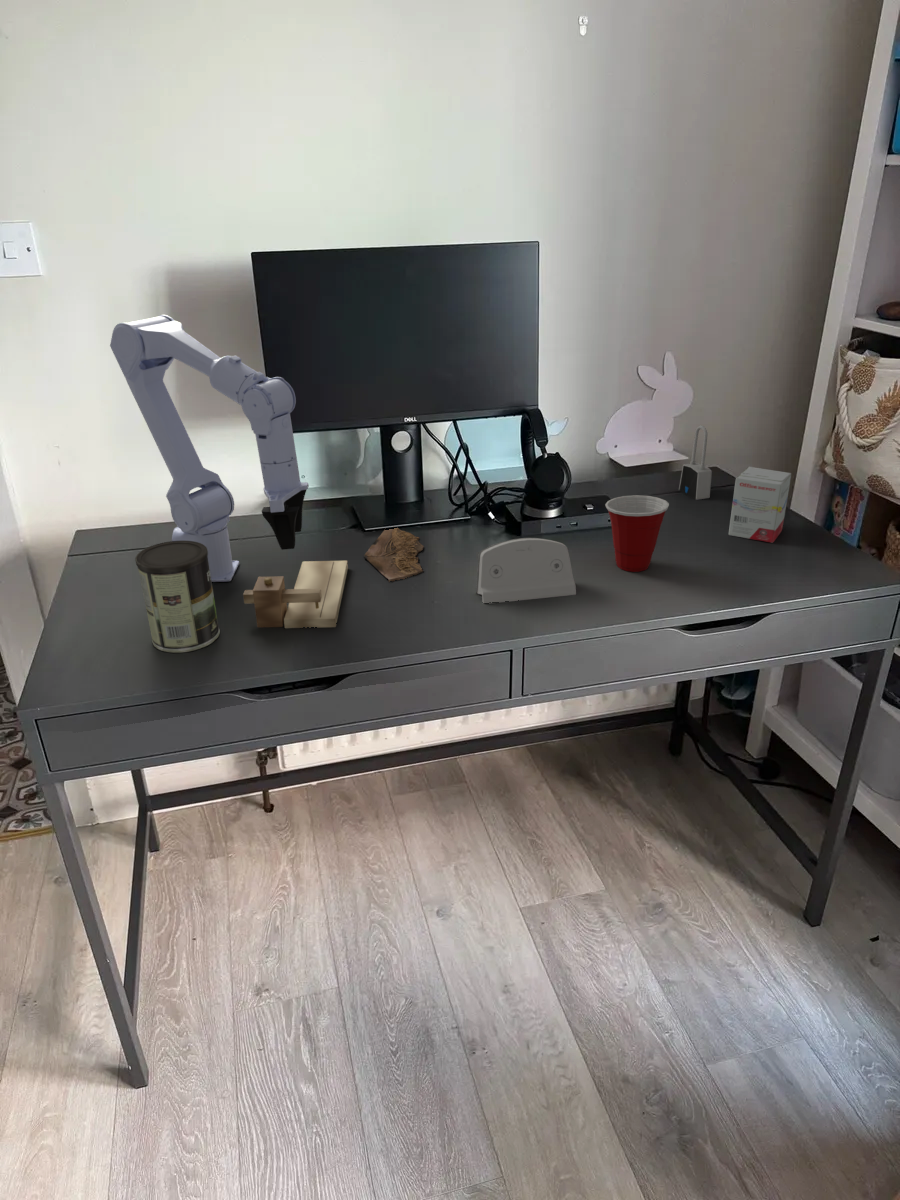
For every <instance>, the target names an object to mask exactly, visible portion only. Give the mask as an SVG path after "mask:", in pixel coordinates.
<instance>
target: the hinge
mask: <svg viewBox="0 0 900 1200" xmlns="http://www.w3.org/2000/svg"><path fill="white" fill-rule="evenodd" d="M477 557H478V558H477V572H476V588H475V592H476V594H477V595H481V602H483V603H489V602H491V603H489V604H493V603H492V602H499V603H506V602H505V601H509V602H515V601H516V602H517V601H518V600H519V601H527V600H536V599H545V598H548V599H549V598H556V597H566V596H567V597H569V596H576V595H577V590H576V589H577V587H576V582H575V579H574V575H573V570H572V564H571V558H570V554H569V549H568V547H567V545H565V544H564V543H562V542H560V541H556V540H551V539H546V538H539V537H538V538H537V537H523V538H514V539H509V540H508V539H507V540H504V541H501V542H498V543H494V544H492V545H489V546H488V547H485V548H483V549H482V550H480V551H479V552H478V555H477ZM519 601H518V602H519ZM483 603H482V604H483Z"/></svg>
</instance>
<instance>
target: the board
mask: <svg viewBox="0 0 900 1200" xmlns="http://www.w3.org/2000/svg"><path fill="white" fill-rule="evenodd" d="M348 570H349V566H348V560H315V561H313V560H311V561H309V560H308V561H305V560H304V561H302V562H301V565H300V569H299V570H298V571H299V572H298V575H297V578H296V581H295V584H294V588H293V589H321V597H322V598H321V602H318V603H319V608H318V609H316V605H315V602H308V603H288V605H287V612H286V615H285V618H284V625H283V626H284V628H285V629H300V628H301V629H302V628H303V627H305V628H303V629H307V627H309V628H311V627H314V629H315V627H317V628H336V627H337V624H336V623H337V622H338V619H339V613H340V607H341V604H342V600H343V599H342V598H343V594H344V589H345V584H346V579H347V576H348V575H347V574H348ZM309 628H308V629H309Z"/></svg>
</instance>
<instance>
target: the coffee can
mask: <svg viewBox="0 0 900 1200" xmlns="http://www.w3.org/2000/svg"><path fill="white" fill-rule="evenodd" d="M134 561H135V564H136V566H137V571H138V576H139V580H140V585H141V591H142V594H143V595H142V596H143V600H144V604H145V610H146V613H147V614H146V615H147V620H148V625H149V630H150V634H151V635H150V636H151V642H152V644H153V647H155V648H156V649H157V650H159V651H161V652H165V653H174V654H175V653H177V654H179V653H180V654H181V653H188V652H193V651H197V650H200V649H203V648H205V647H207V646H209V645H211V644H213V643H214V642H215V641H216V640H217V639H218V638H219V637H220V633H221V630H220V626H219V621H218V615H217V608H216V602H215V597H214V588H213V583H212V582H211V576H210V569H209V562H208V550H207V548H206V546H205V545H203V544H201V543H198V542H194V541H172V540H171V541H166V542H165V541H164V542H160V543H156V544H154V545H153V544H152V545H151V546H149V547H146V548H144V549H142V550H140V551H139V552H138V553H136V556H135V558H134Z"/></svg>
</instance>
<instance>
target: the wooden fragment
mask: <svg viewBox="0 0 900 1200" xmlns="http://www.w3.org/2000/svg"><path fill="white" fill-rule="evenodd" d="M419 540H420V537H418V536H415V535H414V534H412V533H411V532H409V531H405V530H401V529H400V528H398V527H397V528H394V529H389V530H385V529H384V530H383V531H382V532H381V534H380V535H379V536H378V538H376V539H375V540H374V542H372V544H371V545H370V547H369V548H368V550H367V551H366V552H365V554H364V556H363V559H366V560H367V561H368V563H370V564H371V565H372V566H373V567H374V568H375V569H376V570H377V571H378V572H379V573H380V574H381V575H383V577H385V578H386V579H388V583H391V582H390V581H392V582H396V581H395V580H397V581H401V580H400V579H403V580H406V579H408V578H411V577H414V576H417V575H418V574H420V573H424V570H423V568H422V566H421V564H420V563H419V559H420V558H419V557H417V555H418V554H420V553H421V552H422V551H423V549H424V546H425V545H423V544H422V543H421V542H420V541H419ZM413 575H414V576H413ZM407 577H408V578H407ZM405 578H406V579H405Z"/></svg>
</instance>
